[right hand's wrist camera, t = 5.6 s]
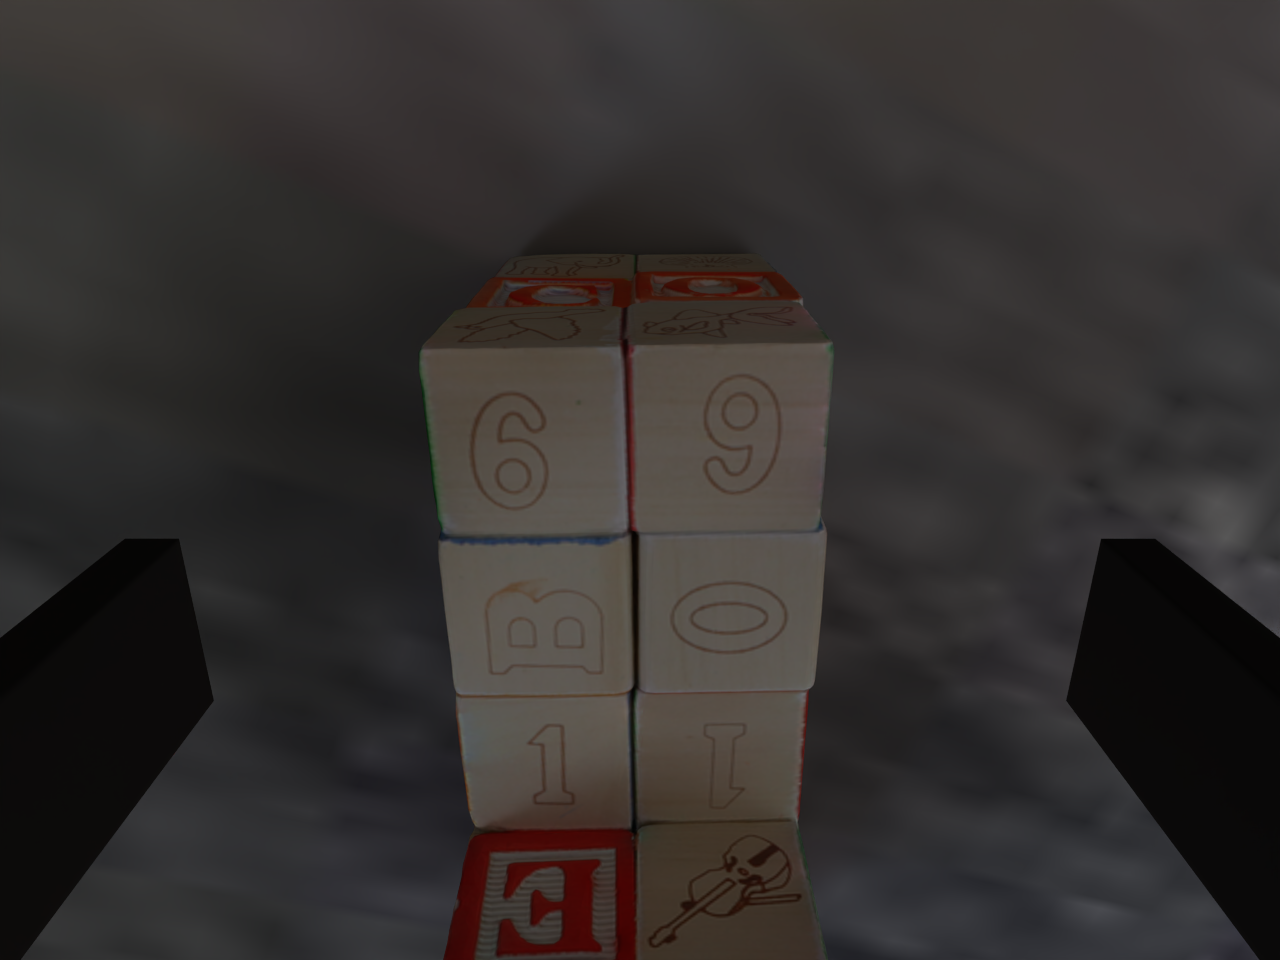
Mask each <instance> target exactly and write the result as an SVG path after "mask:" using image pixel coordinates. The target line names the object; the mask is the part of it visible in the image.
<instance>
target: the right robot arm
mask: <svg viewBox="0 0 1280 960" xmlns="http://www.w3.org/2000/svg"><path fill="white" fill-rule="evenodd" d="M213 701H214V700H213V695H212V690H211V686H210V681H209V676H208V672H207V667H206V663H205V658H204V653H203V649H202V644H201V639H200V635H199V630H198V626H197V621H196V616H195V612H194V607H193V602H192V598H191V593H190V589H189V584H188V579H187V575H186V570H185V565H184V561H183V556H182V551H181V547H180V542H179V539H124V540H123V541H122V542H120V543H119V544H118V545H117V546H115V547H114V548H113V549H112V550H110V551H109V552H108V553H106V554H105V555H104V556H103V557H101V558H100V559H99V560H98V561H96V562H95V563H94V564H93V565H91V566H90V567H89V568H88V569H86V570H85V571H84V572H83V573H81V574H80V575H79V576H78V577H76V578H75V579H74V580H73V581H71V582H70V583H69V584H68V585H66V586H65V587H64V588H62V589H61V590H60V591H59V592H57V593H56V594H55V595H54V596H52V597H51V598H50V599H49V600H47V601H46V602H45V603H44V604H42V605H41V606H40V607H39V608H37V609H36V610H35V611H34V612H32V613H31V614H30V615H29V616H27V617H26V618H25V619H24V620H22V621H21V622H20V623H18V624H17V625H16V626H15V627H13V628H12V629H11V630H10V631H8V632H7V633H6V634H5V635H3V636H2V637H1V638H0V960H21V958H22V957H23V956H24V954H25V953H26V952H27V950H28V949H29V948H30V946H31V945H32V944H33V942H34V941H35V940H36V938H37V937H38V936H39V934H40V933H41V932H42V930H43V929H44V928H45V926H46V925H47V924H48V922H49V921H50V919H51V918H52V917H53V915H54V914H55V913H56V911H57V910H58V909H59V907H60V906H61V905H62V903H63V902H64V901H65V899H66V898H67V897H68V895H69V894H70V893H71V891H72V890H73V889H74V887H75V886H76V885H77V883H78V882H79V881H80V879H81V878H82V877H83V875H84V874H85V873H86V871H87V870H88V869H89V867H90V866H91V865H92V863H93V862H94V860H95V859H96V858H97V856H98V855H99V854H100V852H101V851H102V850H103V848H104V847H105V846H106V844H107V843H108V842H109V840H110V839H111V838H112V836H113V835H114V834H115V832H116V831H117V830H118V828H119V827H120V826H121V824H122V823H123V822H124V820H125V819H126V818H127V816H128V815H129V814H130V812H131V811H132V810H133V808H134V807H135V806H136V804H137V803H138V802H139V800H140V799H141V797H142V796H143V795H144V793H145V792H146V791H147V789H148V788H149V787H150V785H151V784H152V783H153V781H154V780H155V779H156V777H157V776H158V775H159V773H160V772H161V771H162V769H163V768H164V767H165V765H166V764H167V763H168V761H169V760H170V759H171V757H172V756H173V755H174V753H175V752H176V751H177V749H178V748H179V747H180V745H181V744H182V743H183V741H184V740H185V738H186V737H187V736H188V734H189V733H190V732H191V730H192V729H193V728H194V726H195V725H196V724H197V722H198V721H199V720H200V718H201V717H202V716H203V714H204V713H205V712H206V710H207V709H208V708H209V706H210V705H211V704H212V702H213ZM1066 701H1067V702H1068V704H1069V705H1070V706H1071V708H1072V709H1073V710H1074V712H1075V713H1076V714H1077V716H1078V717H1079V718H1080V720H1081V721H1082V722H1083V724H1084V725H1085V726H1086V728H1087V729H1088V730H1089V732H1090V733H1091V734H1092V736H1093V737H1094V738H1095V740H1096V741H1097V743H1098V744H1099V745H1100V747H1101V748H1102V749H1103V751H1104V752H1105V753H1106V755H1107V756H1108V757H1109V759H1110V760H1111V761H1112V763H1113V764H1114V765H1115V767H1116V768H1117V769H1118V771H1119V772H1120V773H1121V775H1122V776H1123V777H1124V779H1125V780H1126V781H1127V783H1128V784H1129V785H1130V787H1131V788H1132V789H1133V791H1134V792H1135V793H1136V795H1137V796H1138V797H1139V799H1140V800H1141V802H1142V803H1143V804H1144V806H1145V807H1146V808H1147V810H1148V811H1149V812H1150V814H1151V815H1152V816H1153V818H1154V819H1155V820H1156V822H1157V823H1158V824H1159V826H1160V827H1161V828H1162V830H1163V831H1164V832H1165V834H1166V835H1167V836H1168V838H1169V839H1170V840H1171V842H1172V843H1173V844H1174V846H1175V847H1176V848H1177V850H1178V851H1179V852H1180V854H1181V855H1182V856H1183V858H1184V859H1185V860H1186V862H1187V863H1188V865H1189V866H1190V867H1191V869H1192V870H1193V871H1194V873H1195V874H1196V875H1197V877H1198V878H1199V879H1200V881H1201V882H1202V883H1203V885H1204V886H1205V887H1206V889H1207V890H1208V891H1209V893H1210V894H1211V895H1212V897H1213V898H1214V899H1215V901H1216V902H1217V903H1218V905H1219V906H1220V907H1221V909H1222V910H1223V911H1224V913H1225V914H1226V915H1227V917H1228V918H1229V919H1230V921H1231V922H1232V924H1233V925H1234V926H1235V928H1236V929H1237V930H1238V932H1239V933H1240V934H1241V936H1242V937H1243V938H1244V940H1245V941H1246V942H1247V944H1248V945H1249V946H1250V948H1251V949H1252V950H1253V952H1254V953H1255V954H1256V956H1257V957H1258V958H1259V960H1280V638H1279V637H1278V636H1277V635H1275V634H1274V633H1273V632H1272V631H1270V630H1269V629H1268V628H1267V627H1265V626H1264V625H1263V624H1262V623H1260V622H1259V621H1258V620H1256V619H1255V618H1254V617H1253V616H1251V615H1250V614H1249V613H1248V612H1246V611H1245V610H1244V609H1243V608H1241V607H1240V606H1239V605H1238V604H1236V603H1235V602H1234V601H1233V600H1231V599H1230V598H1229V597H1228V596H1226V595H1225V594H1224V593H1223V592H1221V591H1220V590H1219V589H1218V588H1216V587H1215V586H1214V585H1212V584H1211V583H1210V582H1209V581H1207V580H1206V579H1205V578H1204V577H1202V576H1201V575H1200V574H1199V573H1197V572H1196V571H1195V570H1194V569H1192V568H1191V567H1190V566H1189V565H1187V564H1186V563H1185V562H1184V561H1182V560H1181V559H1180V558H1179V557H1177V556H1176V555H1175V554H1174V553H1172V552H1171V551H1170V550H1168V549H1167V548H1166V547H1165V546H1163V545H1162V544H1161V543H1160V542H1158V541H1157V540H1156V539H1101V542H1100V547H1099V551H1098V556H1097V561H1096V565H1095V570H1094V575H1093V579H1092V584H1091V589H1090V593H1089V598H1088V602H1087V607H1086V612H1085V616H1084V621H1083V626H1082V630H1081V635H1080V639H1079V644H1078V649H1077V653H1076V658H1075V663H1074V667H1073V672H1072V676H1071V681H1070V686H1069V690H1068V695H1067V700H1066Z"/></svg>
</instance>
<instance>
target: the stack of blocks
mask: <svg viewBox="0 0 1280 960" xmlns="http://www.w3.org/2000/svg"><path fill="white" fill-rule="evenodd" d="M833 362H834V347H833V342H832V341H831V340H830V339H829V338H828V336H827V335H826V333H825V332H824V330H823V329H822V328H821V327H820V326H819V325H818V323H817V322H816V321H815V320H814V319H813V318H812V317H811V316H810V315H809V313H808V311H807V310H806V309H805V308H804V307H803V298H802V296H801V295H800V294H799V293H798V292H797V291H796V290H795V288H794V287H793V286H792V285H791V284H790V283H789V282H788V281H787V280H786V279H785V278H784V277H783V276H782V275H781V274H779V273H777V271H776V270H775V269H774V268H773V267H772V266H771V265H770V264H769V263H768V262H767V261H766V260H765V259H764V258H763V257H762V256H761V255H759V254H659V255H630V254H554V255H533V256H519V257H514V258H511V259H509V260H508V261H507V262H506V263H505V264H504V265H503V266H502V268H501V269H500V270H499V272H498V273H497V274H496V276H495V277H494V278H491V279H489V280H488V281H487V282H486V284H485V285H484V286H483V287H482V288H481V290H480V291H479V292H478V293H477V294H476V295H475V296H474V297H473V298H472V300H471V301H470V303H469V304H468V306H467V307H466V308H464V309H459V310H455V311H454V312H453V314H452V315H451V316H450V317H449V318H447V320H446V321H445V322H444V323H443V324H442V325H441V326H440V327H439V328H438V329H437V331H436V332H435V333H434V334H433V335H432V336H431V337H430V338H429V339H428V340H427V341H426V342H425V343H424V344H423V346H422V348H421V349H420V351H419V374H420V381H421V387H422V396H423V404H424V413H425V421H426V429H427V437H428V445H429V452H430V462H431V473H432V482H433V489H434V497H435V502H436V507H437V515H438V520H439V523H440V526H441V533H440V537H439V540H438V554H439V564H440V572H441V580H442V589H443V598H444V607H445V615H446V623H447V631H448V639H449V646H450V654H451V662H452V673H453V682H454V688H455V690H456V719H457V723H458V735H459V743H460V751H461V758H462V764H463V771H464V778H465V786H466V793H467V801H468V809H469V812H470V815H471V818H472V821H473V823H474V825H475V827H474V831H473V833H472V834H471V836H470V838H469V843H468V848H467V852H466V856H465V859H464V863H463V869H462V878H461V882H460V886H459V891H458V895H457V899H456V903H455V906H454V910H453V916H452V921H451V925H450V930H449V936H448V942H447V946H446V951H445V955H444V959H443V960H828V958H827V954H826V949H825V945H824V940H823V936H822V932H821V927H820V922H819V917H818V912H817V908H816V903H815V899H814V894H813V890H812V885H811V880H810V876H809V871H808V866H807V861H806V857H805V852H804V847H803V843H802V839H801V835H800V831H799V827H798V823H797V822H798V818H799V812H800V797H801V785H802V772H803V759H804V746H805V734H806V723H807V710H808V692H809V689H810V688H811V687H812V686H813V684H814V681H815V673H816V663H817V653H818V642H819V632H820V622H821V611H822V597H823V583H824V570H825V556H826V542H827V531H826V527H825V525H824V522H823V520H822V518H821V509H822V501H823V490H824V478H825V464H826V450H827V439H828V428H829V412H830V400H831V390H832V375H833Z"/></svg>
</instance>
